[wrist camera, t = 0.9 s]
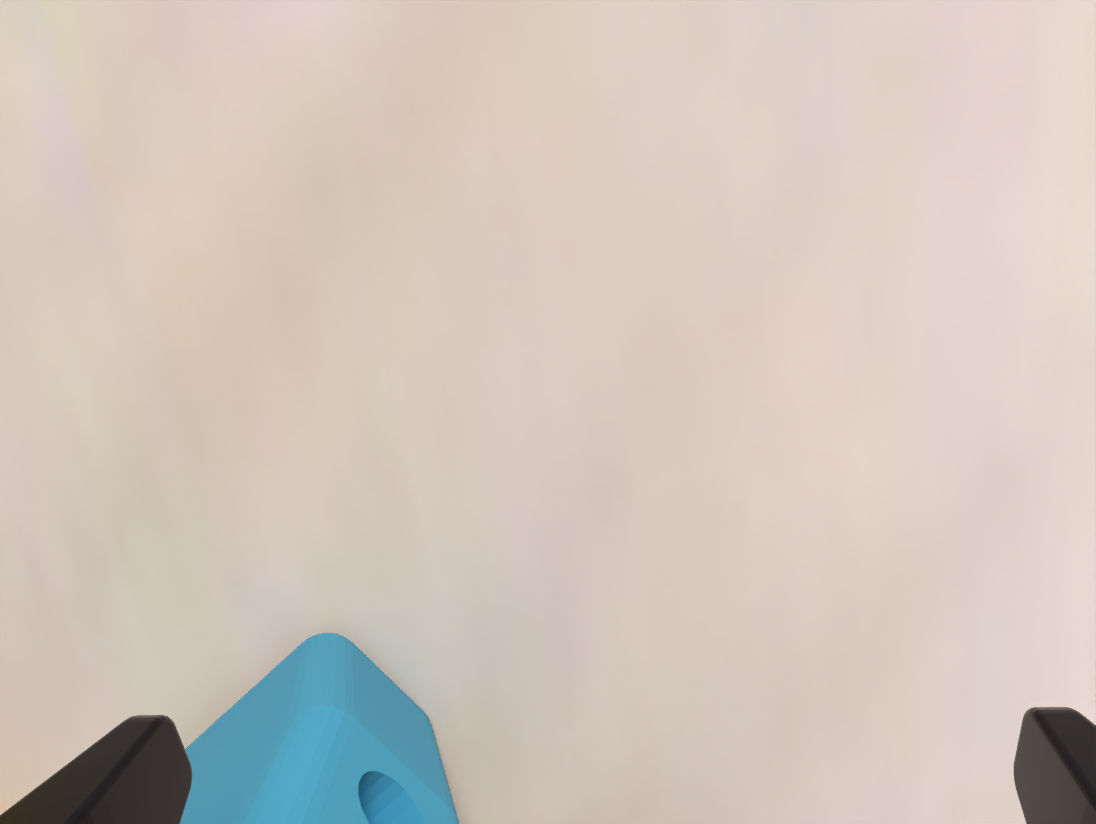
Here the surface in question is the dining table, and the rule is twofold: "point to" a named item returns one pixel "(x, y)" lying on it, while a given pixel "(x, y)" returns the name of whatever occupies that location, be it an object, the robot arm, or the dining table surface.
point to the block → (320, 749)
